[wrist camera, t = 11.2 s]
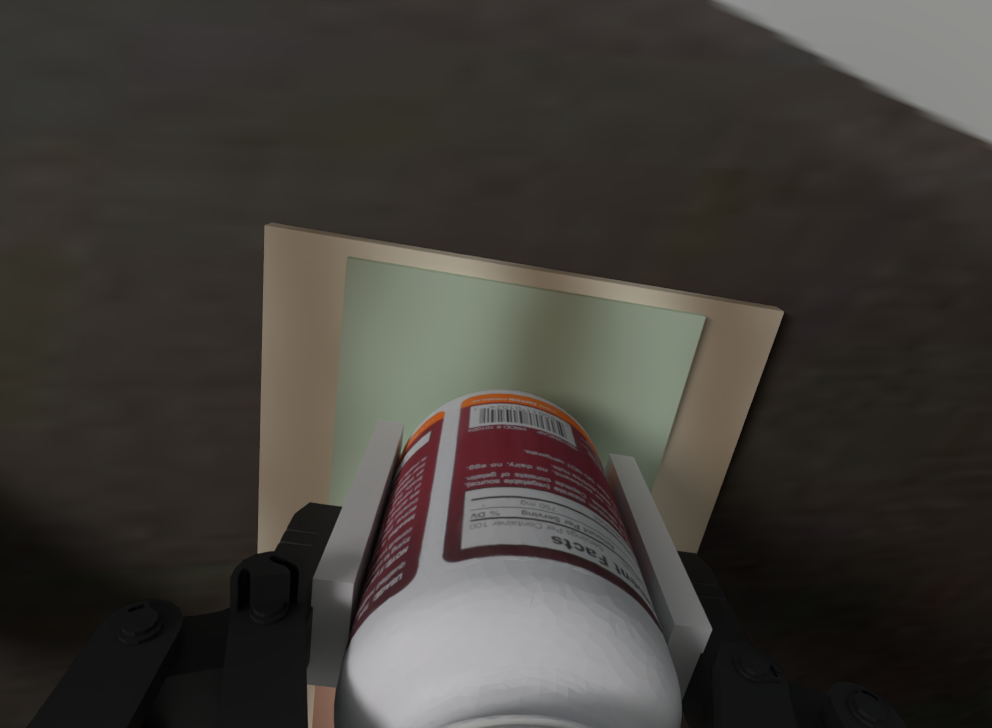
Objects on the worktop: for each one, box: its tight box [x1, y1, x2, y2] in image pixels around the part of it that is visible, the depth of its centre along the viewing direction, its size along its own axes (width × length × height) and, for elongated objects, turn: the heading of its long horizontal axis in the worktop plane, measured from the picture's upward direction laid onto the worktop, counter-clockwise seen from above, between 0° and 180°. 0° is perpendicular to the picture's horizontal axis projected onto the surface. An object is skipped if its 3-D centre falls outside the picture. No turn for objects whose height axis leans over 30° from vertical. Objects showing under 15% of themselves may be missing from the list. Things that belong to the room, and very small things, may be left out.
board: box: [258, 223, 784, 728], centre depth 22 cm, size 16×26×1 cm, turn 170°
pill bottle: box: [334, 389, 682, 728], centre depth 12 cm, size 6×6×11 cm
